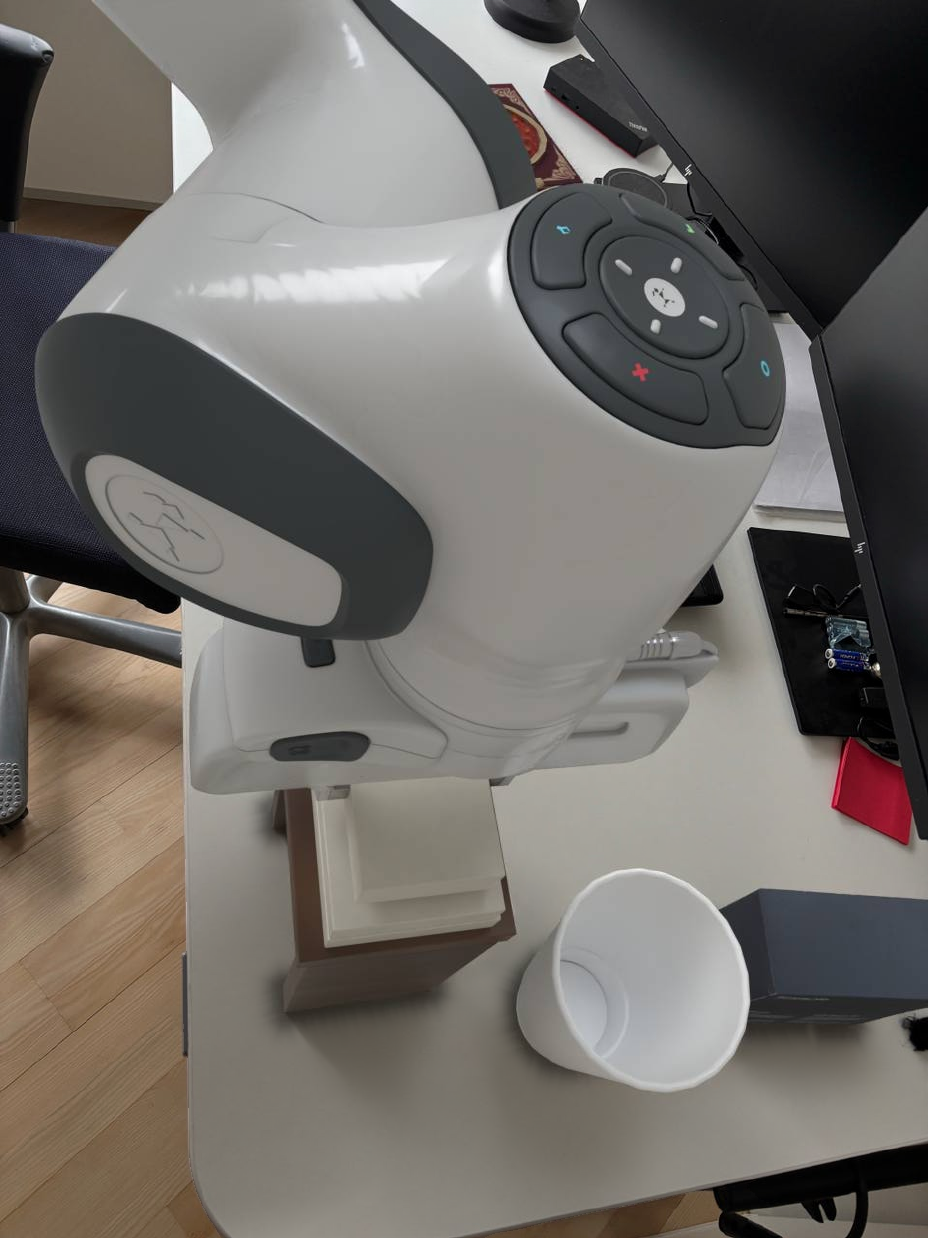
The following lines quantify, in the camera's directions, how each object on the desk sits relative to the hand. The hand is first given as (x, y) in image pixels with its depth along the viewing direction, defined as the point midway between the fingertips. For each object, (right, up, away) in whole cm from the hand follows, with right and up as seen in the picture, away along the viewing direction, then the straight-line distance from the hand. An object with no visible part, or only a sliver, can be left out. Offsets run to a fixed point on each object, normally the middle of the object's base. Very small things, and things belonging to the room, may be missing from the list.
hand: (410, 778), depth 44 cm
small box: (+26, -19, +26) cm, 41 cm away
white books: (-1, -2, +4) cm, 5 cm away
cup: (+10, -20, +21) cm, 30 cm away
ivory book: (0, 0, +1) cm, 1 cm away
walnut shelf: (-6, -12, +21) cm, 25 cm away
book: (-1, +62, +65) cm, 90 cm away
